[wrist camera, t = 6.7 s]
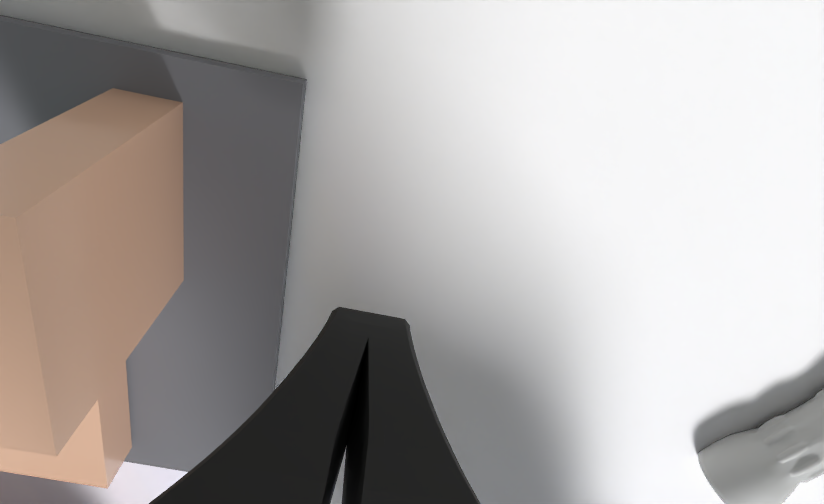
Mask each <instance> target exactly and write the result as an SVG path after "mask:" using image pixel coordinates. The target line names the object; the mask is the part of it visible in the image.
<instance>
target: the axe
mask: <svg viewBox="0 0 824 504" xmlns="http://www.w3.org/2000/svg"><path fill="white" fill-rule="evenodd" d="M698 460H699V464H700V466H701V469H702V471H703V473H704V475H705V477H706V479H707V480H708V482H709V483H710V485H711V486H712V488H713V489H714V491H715V492H716V493H717V495H718V496H719V497H720V499H721V500H722V501H723V502H724V503H725V504H782V503H783V502H785V500H786V499H787V498H788V497H789V496H790V494H791V493H792V492H793V491H794V489H795V488H796V487H797V486H798V484H799V483H800V482H807V481H810V480H812V479H814V478H817V477H818V476H820V475H822V474H823V473H824V388H823V389H822V390H821V391H819V392H818V393H817V394H816V395H815V397H813V398H812V399H810V400H808V401H807V402H805V403H804V404H802V405H800V406H798V407H797V408H795V409H793V410H791V411H789V412H787V413H786V414H784V415H779V416H776V417H774V418H772V419H770V420H768V421H767V422H765V423H764V424H763V425H761V426H760V427H759V428H756V429H751V430H747V431H743V432H739V433H735V434H732V435H729V436H727V437H725V438H723V439H721V440H719V441H716V442H715V443H713V444H711V445H710V446H708V447H706V448H705V449H703V450H702V451H700V452H699V454H698Z"/></svg>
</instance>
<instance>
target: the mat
mask: <svg viewBox="0 0 824 504" xmlns="http://www.w3.org/2000/svg"><path fill="white" fill-rule="evenodd" d="M112 88H115V89H120V90H125V91H129V92H134V93H139V94H144V95H149V96H154V97H159V98H164V99H169V100H173V101H178V102H183V232H184V280H183V282H182V283H181V285H180V286H179V287H178V289H177V290H176V292H175V293H174V294H173V296H172V297H171V299H170V300H169V301H168V303H167V304H166V305H165V307H164V308H163V310H162V311H161V312H160V314H159V315H158V317H157V318H156V319H155V321H154V322H153V324H152V325H151V326H150V328H149V329H148V330H147V332H146V333H145V335H144V336H143V337H142V339H141V340H140V342H139V343H138V344H137V346H136V347H135V349H134V350H133V351H132V353H131V354H130V355H129V357H128V358H127V360H126V371H127V385H128V399H129V413H130V427H131V441H132V448H131V450H130V451H129V453H128V455H127V456H126V458H125V460H124V461H126V462H132V463H138V464H144V465H150V466H156V467H162V468H168V469H174V470H180V471H186V472H189V471H190V470H192V469H193V468H194V467H195V466H196V465H198V464H199V463H200V462H201V461H202V460H204V459H205V458H206V457H207V456H208V455H209V454H211V453H212V452H213V451H214V450H215V449H216V448H217V447H218V446H220V445H221V444H222V443H223V442H224V441H225V440H226V439H227V438H228V437H229V436H230V435H232V434H233V433H234V432H235V431H236V430H237V429H238V428H239V427H240V426H241V425H242V424H243V423H244V422H245V421H246V420H247V419H248V418H249V417H250V416H251V415H252V414H253V413H254V412H255V411H256V410H257V409H258V408H259V407H260V406H261V404H262V403H263V402H264V401H265V400H266V399H267V398H268V397H269V396H270V395H271V394H272V393H273V392H274V390H275V380H276V371H277V361H278V351H279V342H280V332H281V322H282V313H283V303H284V293H285V284H286V274H287V264H288V254H289V245H290V235H291V225H292V216H293V206H294V196H295V187H296V177H297V167H298V158H299V148H300V138H301V129H302V119H303V109H304V100H305V90H306V79H302V78H297V77H292V76H287V75H283V74H278V73H273V72H268V71H263V70H259V69H254V68H249V67H244V66H240V65H235V64H230V63H225V62H220V61H216V60H211V59H206V58H201V57H197V56H192V55H187V54H182V53H178V52H173V51H168V50H163V49H158V48H154V47H149V46H144V45H139V44H135V43H130V42H125V41H120V40H116V39H111V38H106V37H101V36H96V35H92V34H87V33H82V32H77V31H73V30H68V29H63V28H58V27H54V26H49V25H44V24H39V23H34V22H30V21H25V20H20V19H15V18H11V17H6V16H1V15H0V144H2V143H4V142H6V141H8V140H10V139H12V138H14V137H16V136H18V135H20V134H22V133H24V132H26V131H28V130H30V129H32V128H34V127H36V126H38V125H40V124H42V123H44V122H46V121H48V120H50V119H52V118H54V117H56V116H58V115H60V114H62V113H64V112H66V111H68V110H70V109H72V108H74V107H76V106H78V105H80V104H82V103H84V102H86V101H88V100H90V99H92V98H94V97H96V96H98V95H100V94H102V93H104V92H106V91H108V90H110V89H112Z"/></svg>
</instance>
